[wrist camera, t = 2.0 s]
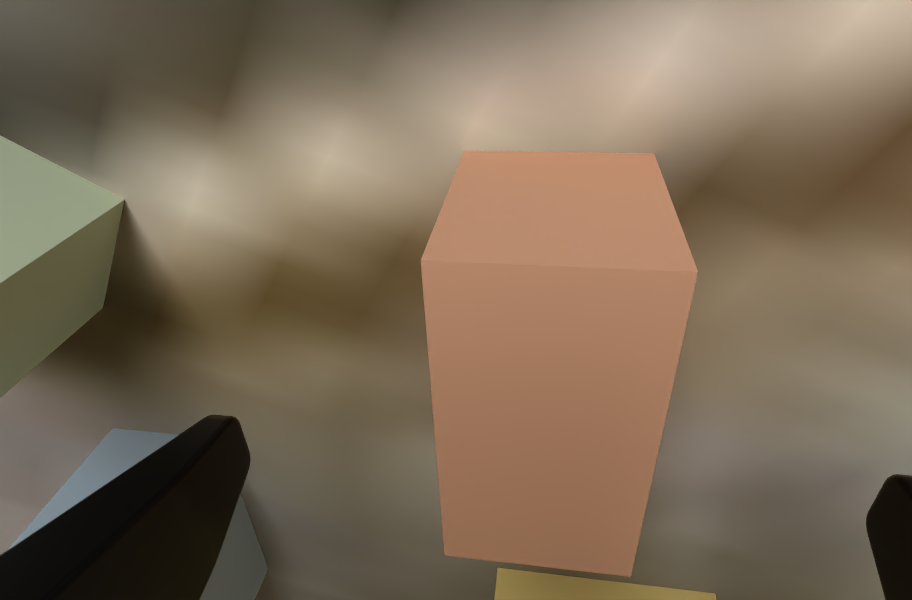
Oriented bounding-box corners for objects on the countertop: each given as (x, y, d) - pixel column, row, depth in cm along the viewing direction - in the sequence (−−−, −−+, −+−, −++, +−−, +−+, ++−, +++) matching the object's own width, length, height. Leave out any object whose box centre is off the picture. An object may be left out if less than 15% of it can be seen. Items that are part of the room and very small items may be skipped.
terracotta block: (613, 410, 13) (630, 576, 10) (472, 400, 14) (444, 555, 10) (653, 151, 10) (698, 271, 7) (465, 148, 10) (421, 260, 7)
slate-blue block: (269, 565, 19) (208, 703, 16) (178, 554, 20) (101, 685, 16) (222, 435, 16) (133, 574, 13) (115, 425, 16) (0, 557, 13)
